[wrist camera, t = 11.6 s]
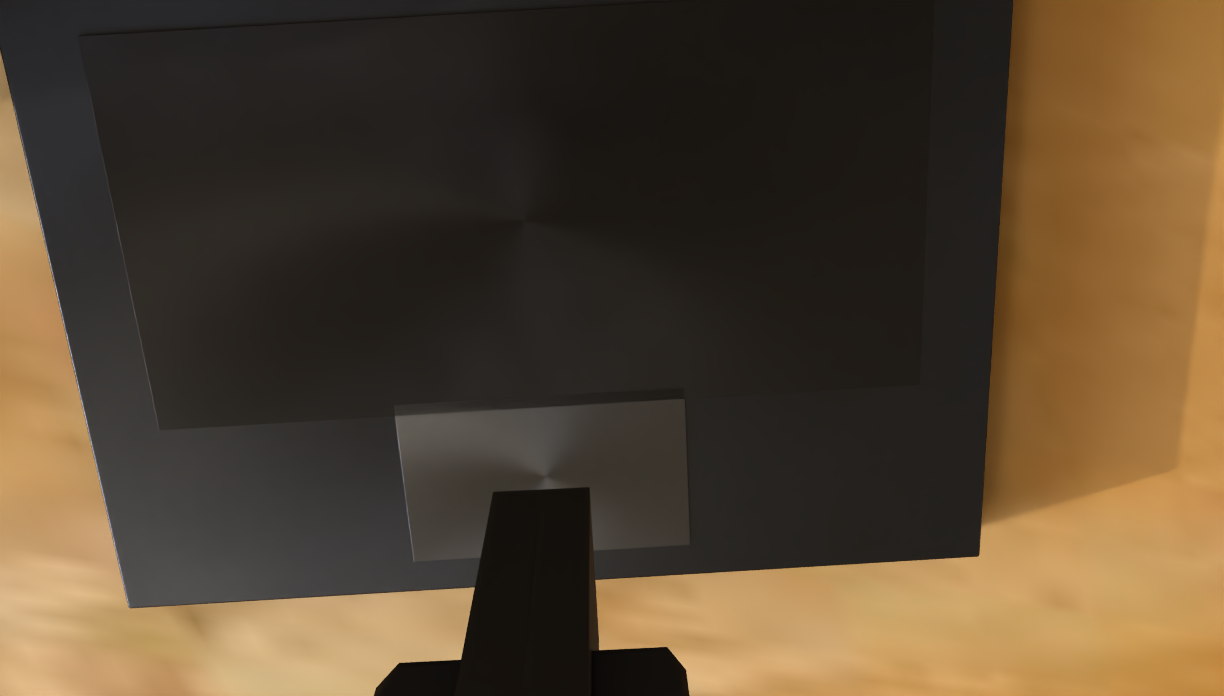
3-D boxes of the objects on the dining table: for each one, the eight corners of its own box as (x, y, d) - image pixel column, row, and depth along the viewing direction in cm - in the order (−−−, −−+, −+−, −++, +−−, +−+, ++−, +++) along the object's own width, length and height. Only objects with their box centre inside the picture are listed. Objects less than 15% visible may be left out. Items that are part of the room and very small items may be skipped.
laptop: (963, 532, 41) (981, 558, 39) (146, 582, 41) (127, 611, 39) (997, -79, 34) (1020, -81, 32) (13, -21, 34) (-19, -20, 32)
